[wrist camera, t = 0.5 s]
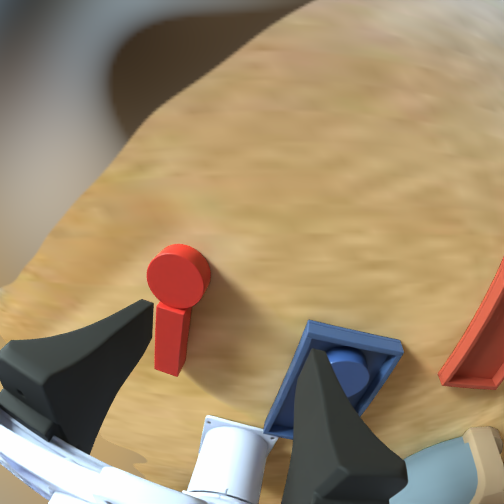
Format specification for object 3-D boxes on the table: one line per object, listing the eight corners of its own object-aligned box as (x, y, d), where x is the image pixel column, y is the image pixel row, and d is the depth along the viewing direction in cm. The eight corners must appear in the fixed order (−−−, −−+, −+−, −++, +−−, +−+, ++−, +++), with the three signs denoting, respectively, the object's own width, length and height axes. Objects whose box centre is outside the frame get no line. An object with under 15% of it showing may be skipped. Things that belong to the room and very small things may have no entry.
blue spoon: (325, 429, 28) (325, 446, 26) (284, 422, 28) (282, 439, 26) (375, 351, 23) (379, 369, 21) (325, 340, 23) (326, 359, 21)
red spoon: (196, 364, 27) (189, 381, 25) (152, 349, 27) (142, 364, 25) (215, 252, 22) (206, 266, 20) (158, 237, 22) (145, 248, 20)
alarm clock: (501, 455, 29) (517, 511, 18) (395, 502, 36) (398, 558, 25) (496, 406, 24) (525, 484, 13) (353, 471, 31) (353, 549, 20)
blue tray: (336, 434, 28) (336, 446, 27) (264, 422, 29) (262, 433, 27) (400, 339, 23) (404, 352, 21) (308, 319, 23) (308, 332, 22)
